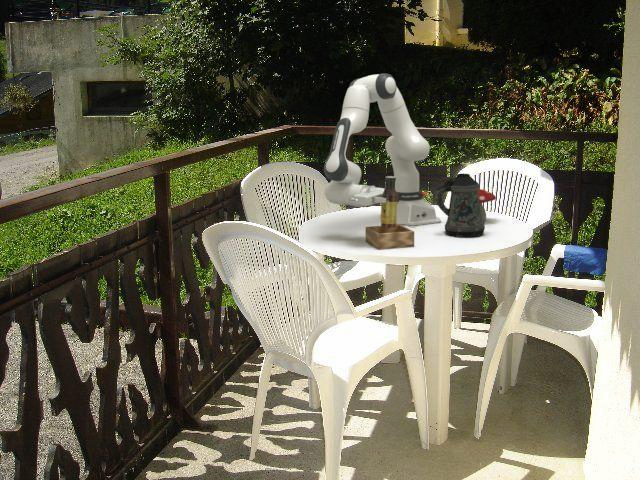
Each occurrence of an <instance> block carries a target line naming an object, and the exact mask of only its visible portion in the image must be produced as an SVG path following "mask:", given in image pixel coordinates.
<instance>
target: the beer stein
mask: <svg viewBox="0 0 640 480" xmlns="http://www.w3.org/2000/svg"><path fill="white" fill-rule="evenodd" d="M480 187H481V186H480V183H478V182H477V181H476V180H475V179H473V177H472V176H471V175H470V174H469V173H457V174H456V176H454V177H451V178H446V179H445V180H444V184H442V185H441V186H439V187H437V188H436V192H435V201H436V205H438V207H439V209H440V210H441V211H442V212H443V213H444V214H445V215H446V216H447V219H446V222H445V223H444V230H445V235H446V236H449V237H453V238H461V239H473V238H479V237H482V235H483V236H484V232H485V228H486V225H485V223H484V222H483V220H482V216H481V210H480V203H479V196H478V190H479V189H480ZM445 192H447V193H449V192H450V200H449V205H448V206H449V207H447V206H446V205H445V203H444V202H443V200H442V194H443V193H445Z"/></svg>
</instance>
